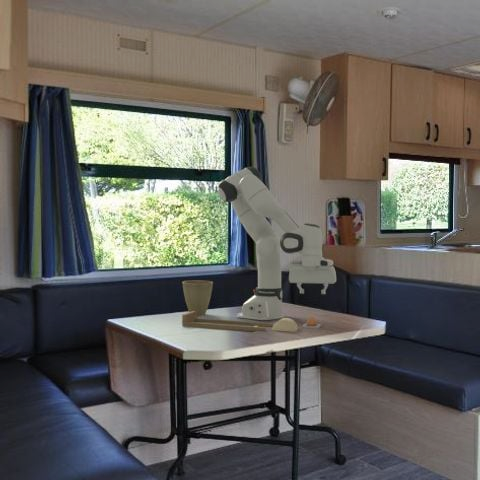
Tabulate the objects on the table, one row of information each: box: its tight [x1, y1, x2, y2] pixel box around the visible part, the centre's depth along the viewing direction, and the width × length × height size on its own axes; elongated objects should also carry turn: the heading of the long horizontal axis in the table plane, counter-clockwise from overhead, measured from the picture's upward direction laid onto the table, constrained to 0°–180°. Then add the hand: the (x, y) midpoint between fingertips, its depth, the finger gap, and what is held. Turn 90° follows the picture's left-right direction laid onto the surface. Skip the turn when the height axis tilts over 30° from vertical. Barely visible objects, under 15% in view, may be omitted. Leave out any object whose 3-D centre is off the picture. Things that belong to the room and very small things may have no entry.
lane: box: [181, 311, 299, 333], centre depth 255 cm, size 50×11×10 cm, turn 70°
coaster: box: [301, 322, 322, 330], centre depth 254 cm, size 7×7×1 cm
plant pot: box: [181, 279, 214, 317], centre depth 288 cm, size 15×15×16 cm
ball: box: [306, 316, 317, 326], centre depth 254 cm, size 4×4×4 cm
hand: (312, 293), depth 253 cm, fingers open, 8 cm apart
